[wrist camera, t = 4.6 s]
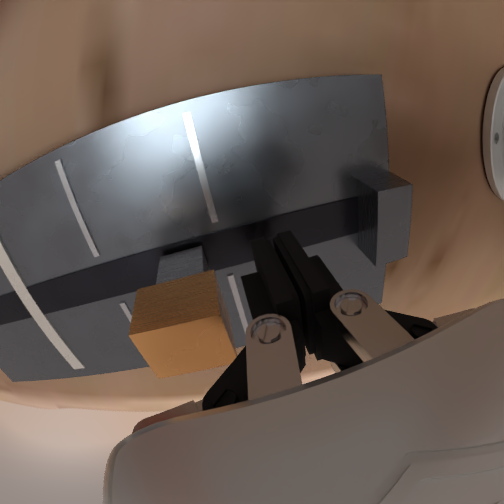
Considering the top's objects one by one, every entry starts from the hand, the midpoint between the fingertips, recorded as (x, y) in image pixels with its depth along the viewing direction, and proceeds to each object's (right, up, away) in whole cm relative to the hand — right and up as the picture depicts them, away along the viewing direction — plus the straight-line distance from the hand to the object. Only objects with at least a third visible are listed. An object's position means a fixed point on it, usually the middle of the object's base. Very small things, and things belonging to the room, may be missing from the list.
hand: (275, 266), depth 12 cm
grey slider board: (-8, 0, +3) cm, 9 cm away
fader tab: (-4, 0, +1) cm, 4 cm away
